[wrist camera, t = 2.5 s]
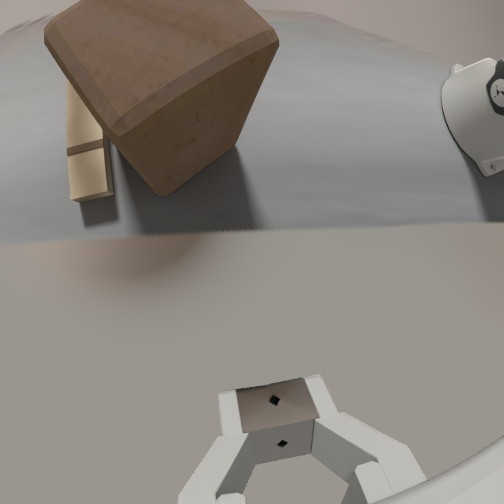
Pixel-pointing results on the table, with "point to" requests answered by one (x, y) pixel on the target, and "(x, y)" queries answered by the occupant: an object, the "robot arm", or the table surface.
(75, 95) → the maple board
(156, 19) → the wooden block
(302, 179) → the table surface
